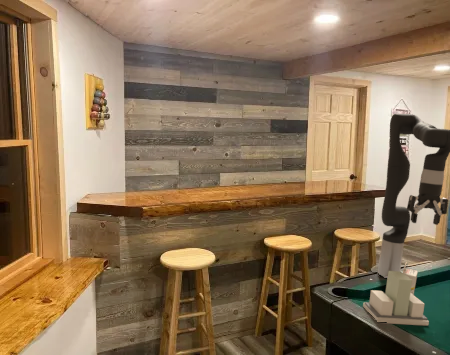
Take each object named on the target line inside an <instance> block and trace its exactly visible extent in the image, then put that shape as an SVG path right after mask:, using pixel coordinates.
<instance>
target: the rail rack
mask: <svg viewBox="0 0 450 355" xmlns="http://www.w3.org/2000/svg"><path fill="white" fill-rule="evenodd" d="M369 296H370V297H369V301H368V302H367V301H365V302H363V304H362V307H363V308H364V309H365V311H366V312H367V313H368V312H369V313H370V314H371V315H372V316H373V317H374V318H375V319H376V320H377V322H387V323H386V324H394V325H413V326H429V324H430V323H429V322H430V321H429V320H428V317H426V315H424V309H425V303H424V302H423V301H422V300H421V299H419V298H418V297H416V296H415V294H414V295H413V294H412V293H410V299H409V306H408V313H407V316H401V315H394V314H393V313H392V310H393V303H394V302H393V301H392V300H391V299H390V298H389V297H388V296H387V295H386V294H385V292H384V291H382V290H375V289H374V290H373V289H372V290H371V289H370V295H369ZM370 314H369V315H370ZM371 315H370V316H371ZM372 316H371V317H372ZM373 317H372V318H373ZM374 318H373V319H374ZM375 319H374V320H375ZM377 322H376V323H377Z"/></svg>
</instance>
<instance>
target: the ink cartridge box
mask: <svg viewBox="0 0 450 355" xmlns="http://www.w3.org/2000/svg"><path fill="white" fill-rule="evenodd" d="M407 262H408V261H406V262H405V264H404V266H403V271H402V273H403V274H405V275H406V276H407V277H409V278H410V279H411V280H412V286H411V292H410V293H412V294H413V295H414V296H415V288H416V285H417V284H416V283H417V279H418V278H417V277H418V270H415V269H411V268H407Z"/></svg>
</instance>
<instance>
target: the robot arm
mask: <svg viewBox="0 0 450 355" xmlns="http://www.w3.org/2000/svg"><path fill="white" fill-rule="evenodd" d="M389 121H390V123H389V150H388V160H387V169H386V170H387V171H386V184H385V193H384V198H383V203H382V204H383V205H382V209H381V221H382V224H383V225H384V226H386V227H392V228H391V229H389V230H388V231H385V232H383V234H382V240H381V245H380V246H381V247H380V253H379V258H378V265H377V266H378V267H377V268H378V269H377V274H378V273H379V274H381V275H385V276H388V271H400V272H401V269H402V268H401V267H402V261H403V260H402V259H403V254H404V253H403V252H404V246H405V240H406V238H407V236H408V231H409V227H410V222H411V223H413V224H417V221H418V213H419V212H420V211H421V210H423V209H431V210H433V212H434V216H433V221H432V224H433V225H435V226H437V225H439V224H440V222H441V218H442V217H441V216H442V215H447V213H448V208H449V207H448V206H449V199H448V198H446V197H441V196H442V191H443V187H444V181H445V180H444V178H445V168H446V163H447V160H448V157H449V155H450V129H449V128H448V129H446V128H438V127H436V125H431V124H429V123H427V122H424V121H423V120H422V119H421V118H420V117H419V116H417V115H415V114H413V113H411V114H410V113H398V112H397V113H393V115H392V116H391V118H390V120H389ZM401 135H406V136H407V135H413V136H414V138H416V139H417V140H419V141H421V142H422V144H423V146H425V147H428V148H436V149H437V148H438V150H437V151H436V152H434V153H428V154H426V155H425V157H424V162H423V168H422V171H421V173H420V174H421V175H420V180H419V186H418V187H419V188H418V195H417V196H416V195H412V194H410V195H409V197H408V202H407V207H405V206H400V205H399V206H397V200H398V197H399V194H400V193H401V191H402V190H403V189H404V187H405V185H406V184H407V183H408V181H409V178H410V172H411V171H410V169H411V163H410V160H409V158H408V156H407V154H406V152H405V151H404V149H403V146H402V143H401ZM439 203H440V206H439Z"/></svg>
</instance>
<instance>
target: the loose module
mask: <svg viewBox="0 0 450 355" xmlns="http://www.w3.org/2000/svg"><path fill="white" fill-rule="evenodd" d="M385 285H386V286H385V292H384V294H386V295H387V296H388V297H389V298H390V299H391V300H392V301H393V302H394V303H393V310H392V313H393V314H394V315H401V316H407V313H408V306H409V299H410V292H411V286H412V280H411V279H410V278H409V277H407V276H406V275H405V274H403V271H401V270H400V271H388V278H387V279H386V284H385Z"/></svg>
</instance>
